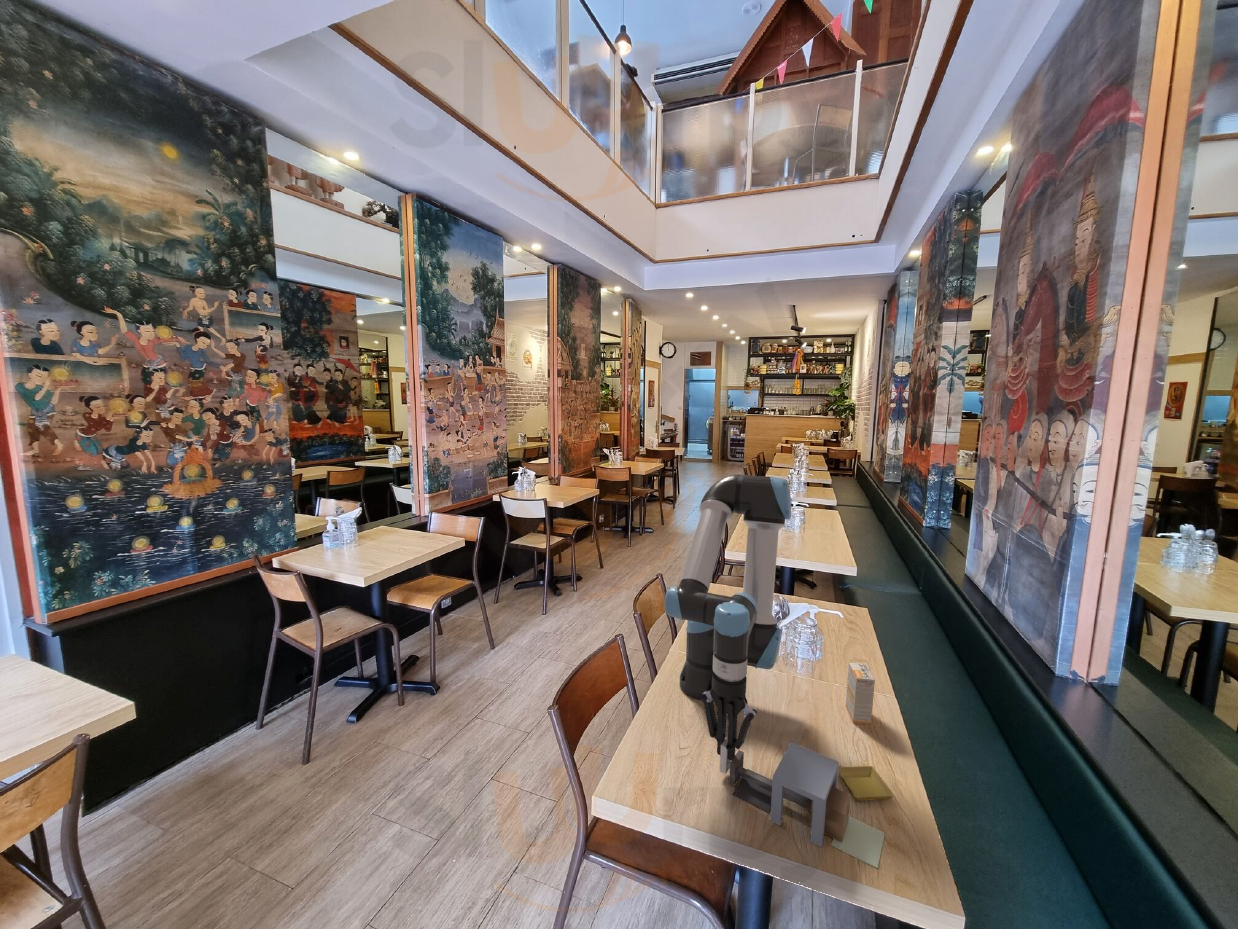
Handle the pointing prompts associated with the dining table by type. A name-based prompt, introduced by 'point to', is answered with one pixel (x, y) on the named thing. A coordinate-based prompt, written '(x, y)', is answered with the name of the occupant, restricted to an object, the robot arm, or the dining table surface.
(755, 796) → the mat
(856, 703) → the supplement box
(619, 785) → the dining table surface
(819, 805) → the tunnel
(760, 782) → the push rod
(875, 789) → the yellow tray
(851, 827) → the pad
